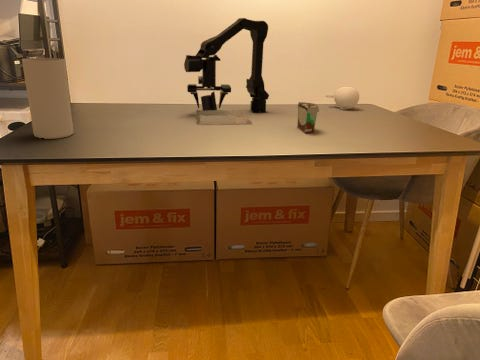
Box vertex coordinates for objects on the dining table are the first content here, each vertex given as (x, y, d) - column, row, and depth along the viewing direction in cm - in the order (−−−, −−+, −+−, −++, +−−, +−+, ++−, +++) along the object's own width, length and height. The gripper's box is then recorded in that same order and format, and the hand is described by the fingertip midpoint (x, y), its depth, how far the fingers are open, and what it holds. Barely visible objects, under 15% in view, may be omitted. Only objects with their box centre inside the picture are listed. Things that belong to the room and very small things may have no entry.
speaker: (221, 114, 178) (219, 90, 174) (215, 117, 173) (212, 93, 170) (207, 114, 181) (205, 91, 178) (200, 116, 177) (197, 93, 173)
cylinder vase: (50, 141, 129) (38, 61, 120) (25, 136, 135) (13, 59, 126) (81, 134, 139) (73, 59, 130) (57, 129, 145) (48, 57, 136)
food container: (321, 134, 148) (324, 107, 145) (305, 134, 147) (308, 107, 144) (310, 126, 160) (313, 101, 156) (296, 127, 159) (298, 101, 155)
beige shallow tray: (247, 117, 173) (247, 109, 172) (252, 124, 161) (252, 115, 160) (196, 118, 170) (196, 110, 168) (197, 124, 158) (197, 115, 157)
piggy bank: (359, 113, 198) (338, 110, 210) (366, 90, 196) (345, 88, 209) (342, 107, 191) (321, 105, 204) (349, 83, 190) (328, 82, 202)
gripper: (228, 70, 179) (227, 105, 185) (186, 69, 176) (187, 105, 182) (231, 72, 169) (230, 109, 174) (187, 72, 166) (188, 109, 171)
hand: (209, 108), depth 176 cm, fingers open, 9 cm apart
